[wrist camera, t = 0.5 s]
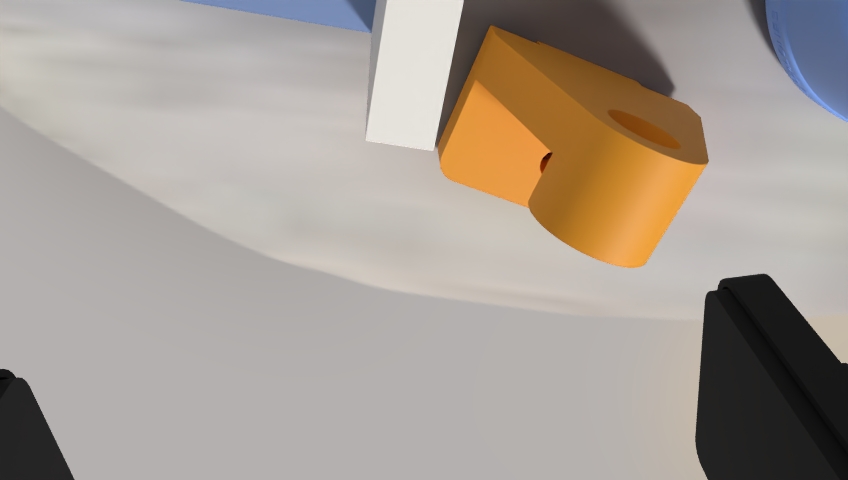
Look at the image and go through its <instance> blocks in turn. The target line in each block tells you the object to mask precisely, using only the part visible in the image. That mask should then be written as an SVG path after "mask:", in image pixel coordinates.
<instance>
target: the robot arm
mask: <svg viewBox="0 0 848 480" xmlns="http://www.w3.org/2000/svg"><path fill="white" fill-rule="evenodd" d="M702 338H703V339H702V351H701V366H700V380H699V394H698V408H697V422H696V436H695V438H696V439H695V442H696V449H697V454H698V458H699V461H700V464H701V466H702V468H703V470H704V472H705V474H706V477H707V479H708V480H848V364H847V363H841V362H840V361H839V360H838V359H837V357H836V356H835V355H834V354H833V352H832V351H831V350H830V349H829V348H828V346H827V345H826V344H825V343H824V342H823V340H822V339H821V338H820V337H819V335H818V334H817V333H816V332H815V331H814V330H813V328H812V327H811V326H810V324H808V322H807V321H806V320H805V318H804V317H803V316H802V315H801V313H800V312H799V311H798V310H797V309H796V307H795V306H794V305H793V304H792V302H791V301H790V300H789V299H788V298H787V296H786V295H785V294H784V293H783V291H782V290H781V289H780V288H779V287H778V285H777V284H776V283H775V282H774V281H773V279H772V278H771V277H770V276H768V275H767V274H757V275H749V276H741V277H733V278H725V279H722V280H721V281H720V283H719V285H718V290H716V291H709V292H708V293H707V295H706V298H705V309H704V323H703V337H702ZM0 480H74V478H73V476H72V474H71V471H70V469H69V467H68V465H67V463H66V461H65V459H64V457H63V455H62V453H61V451H60V449H59V447H58V445H57V443H56V440H55V438H54V436H53V434H52V432H51V430H50V428H49V426H48V424H47V422H46V420H45V418H44V415H43V414H42V411H41V409H40V407H39V405H38V403H37V401H36V399H35V397H34V395H33V393H32V391H31V388H30V386H29V385H28V383H27V382H26V381H25V380H24V379H23V378H16V377H15V375H14V374H13V373H12V372H10V371H9V370H6V369H0Z"/></svg>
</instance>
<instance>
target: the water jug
mask: <svg viewBox="0 0 848 480" xmlns="http://www.w3.org/2000/svg"><path fill="white" fill-rule="evenodd" d="M765 4H766V16H767V23H768V29H769V33H770V37H771V40H772V44H773V46H774V49H775V52H776V54H777V56H778V58H779V60H780V62H781V64H782V66H783V68H784V69H785V71H786V72H787V74H788V75H789V77H790V78H791V79H792V81H793V82H794V83H795V84H796V85H797V87H798V88H799V89H800V90H801V91H802V92H803V93H804V94H806V95H807V96H808V97H809V98H810V99H812V100H813V101H814V102H816V103H817V104H819V105H820V106H822V107H823V108H825V109H826V110H828V111H829V112H831V113H832V114H834V115H835V116H837V117H839V118H841V119H843V120H845V121H847V122H848V0H765Z"/></svg>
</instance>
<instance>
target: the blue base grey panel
mask: <svg viewBox="0 0 848 480" xmlns="http://www.w3.org/2000/svg"><path fill="white" fill-rule="evenodd" d="M181 1H187V2H193V3H198V4H204V5H210V6H216V7H222V8H228V9H234V10H239V11H245V12H251V13H257V14H263V15H269V16H274V17H280V18H286V19H292V20H298V21H304V22H309V23H315V24H321V25H327V26H333V27H339V28H345V29H350V30H356V31H362V32H368V33H371V49H370V67H369V84H368V101H367V119H366V136H365V141H371V142H377V143H384V144H390V145H397V146H403V147H410V148H416V149H423V150H429V151H434V146H435V141H436V136H437V131H438V126H439V121H440V116H441V111H442V106H443V101H444V96H445V92H446V87H447V82H448V77H449V72H450V67H451V62H452V57H453V52H454V47H455V42H456V37H457V32H458V27H459V22H460V17H461V12H462V7H463V2H464V0H181Z"/></svg>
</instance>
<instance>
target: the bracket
mask: <svg viewBox="0 0 848 480" xmlns="http://www.w3.org/2000/svg"><path fill="white" fill-rule="evenodd" d="M550 152H552V155H551V157H550V158H549V159H543V157H544V156H545V155H546V154H548V153H550ZM438 154H439V160H440V166H441V170H442V172H443V174H444V175H445V176H446V177H447V178H448V179H450V180H452V181H454V182H457V183H460V184H463V185H466V186H468V187H471V188H474V189H477V190H480V191H483V192H485V193H488V194H491V195H494V196H497V197H500V198H502V199H505V200H508V201H511V202H514V203H516V204H519V205H522V206H525V207H528V208H529V209H530V211H531V213H532V214H533V216H534V217H535V218H536V220H537V221H538V222H539V223H540V224H541V225H542V226H543V227H544V228H545V229H547V230H548V231H549V232H550V233H551V234H553V235H554V236H556V237H557V238H558V239H560V240H561V241H563V242H564V243H566V244H568V245H569V246H571V247H573V248H574V249H576V250H578V251H580V252H582V253H584V254H586V255H588V256H590V257H593V258H595V259H597V260H600V261H603V262H606V263H609V264H612V265H616V266H621V267H628V268H635V267H641V266H643V265H644V264H645V263H646V262H647V260H648V259H649V257H650V256H651V254H652V252H653V251H654V249H655V248H656V246H657V244H658V243H659V241H660V239H661V238H662V236H663V235H664V233H665V231H666V230H667V228H668V226H669V225H670V223H671V222H672V220H673V218H674V217H675V215H676V214H677V212H678V210H679V209H680V207H681V205H682V204H683V202H684V201H685V199H686V197H687V196H688V194H689V193H690V191H691V189H692V188H693V186H694V184H695V183H696V181H697V180H698V178H699V176H700V175H701V173H702V172H703V170H704V168H705V167H706V165H707V163H708V161H709V160H708V155H707V149H706V144H705V138H704V133H703V127H702V122H701V117H700V116H698V115H697V114H696V113H695V112H694V111H693V110H692V109H691V108H690V107H689V106H688V105H687V104H684V103H682V102H679V101H677V100H674V99H672V98H669V97H667V96H664V95H662V94H660V93H657V92H655V91H652V90H650V89H647V88H645V87H642V86H641V85H640V84H639V83H638V82H637V81H635V80H632V79H630V78H627V77H625V76H623V75H620V74H618V73H615V72H613V71H610V70H608V69H605V68H603V67H600V66H598V65H596V64H593V63H591V62H588V61H586V60H583V59H581V58H578V57H576V56H574V55H571V54H569V53H566V52H564V51H561V50H559V49H556V48H554V47H551V46H549V45H547V44H544V43H542V42H539V41H537V43H534V42H532V41H529V40H527V39H524V38H522V37H520V36H517V35H515V34H512V33H510V32H507V31H505V30H502V29H500V28H497V27H495V26H493V25H490V27H489V30H488V32H487V34H486V36H485V39H484V41H483V43H482V46H481V48H480V50H479V52H478V55H477V57H476V59H475V62H474V64H473V66H472V68H471V71H470V73H469V75H468V77H467V80H466V82H465V84H464V87H463V89H462V91H461V93H460V96H459V98H458V100H457V103H456V105H455V107H454V109H453V112H452V114H451V116H450V119H449V121H448V123H447V125H446V128H445V130H444V132H443V135H442V137H441V139H440V141H439V144H438Z"/></svg>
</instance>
